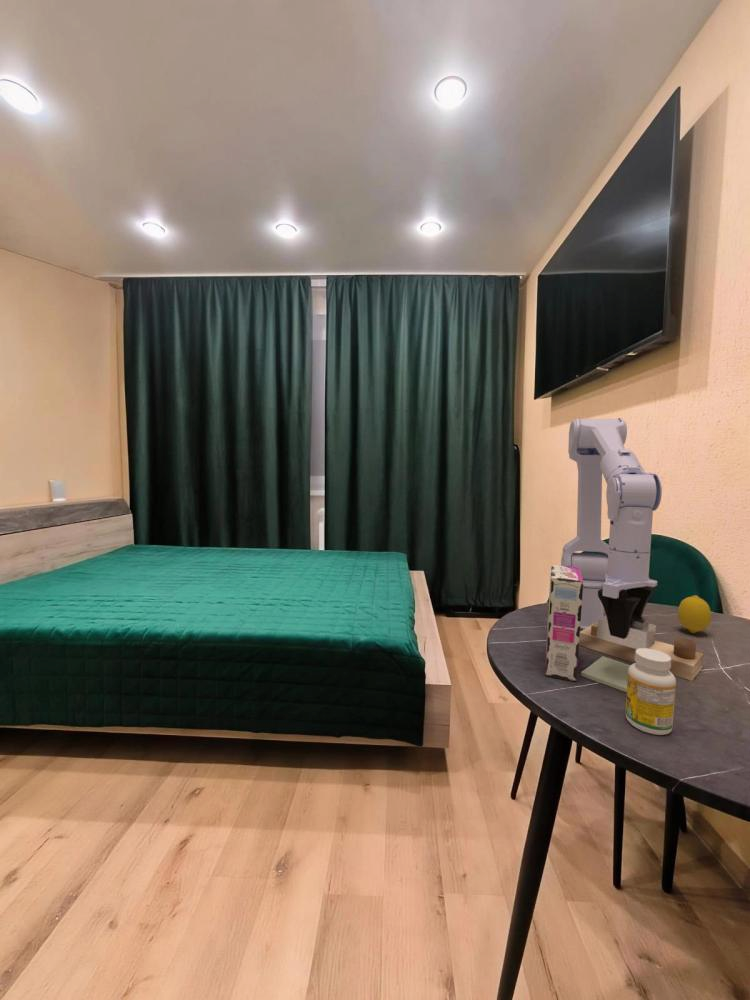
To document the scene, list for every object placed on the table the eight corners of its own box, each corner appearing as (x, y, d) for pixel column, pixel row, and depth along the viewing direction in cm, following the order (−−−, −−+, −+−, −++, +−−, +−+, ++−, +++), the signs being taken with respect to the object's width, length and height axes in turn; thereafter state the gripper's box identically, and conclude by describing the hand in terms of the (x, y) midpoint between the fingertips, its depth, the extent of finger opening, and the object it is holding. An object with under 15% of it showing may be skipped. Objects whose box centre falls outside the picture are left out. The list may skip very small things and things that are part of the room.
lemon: (703, 630, 91) (706, 593, 90) (714, 640, 85) (717, 601, 85) (672, 626, 92) (675, 590, 92) (681, 636, 87) (684, 597, 87)
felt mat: (580, 675, 70) (581, 672, 70) (602, 659, 76) (602, 656, 76) (643, 698, 64) (643, 694, 63) (661, 678, 70) (661, 675, 69)
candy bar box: (579, 683, 68) (584, 581, 66) (545, 676, 70) (549, 577, 68) (575, 654, 78) (580, 566, 77) (546, 649, 80) (550, 563, 79)
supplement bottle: (669, 742, 54) (675, 668, 53) (621, 724, 57) (625, 655, 56) (674, 722, 58) (679, 653, 57) (629, 707, 61) (633, 642, 60)
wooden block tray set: (578, 644, 82) (579, 620, 82) (593, 635, 87) (594, 612, 86) (692, 681, 69) (694, 651, 68) (702, 667, 74) (704, 639, 73)
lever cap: (597, 637, 70) (598, 613, 70) (607, 630, 73) (609, 607, 73) (645, 651, 65) (647, 625, 65) (654, 643, 68) (656, 619, 68)
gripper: (642, 560, 60) (636, 653, 61) (671, 547, 70) (665, 628, 71) (590, 552, 66) (585, 638, 67) (624, 541, 75) (619, 617, 76)
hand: (623, 632), depth 69 cm, fingers closed on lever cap, 4 cm apart
